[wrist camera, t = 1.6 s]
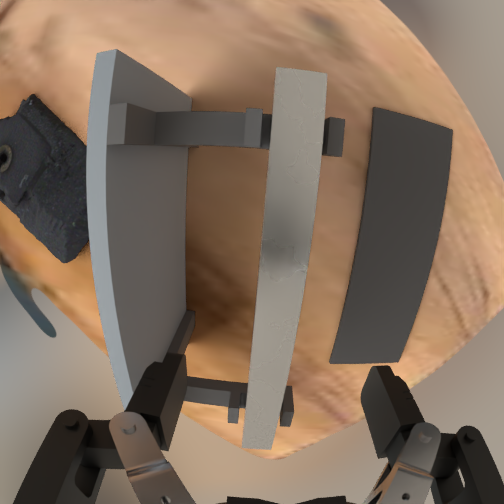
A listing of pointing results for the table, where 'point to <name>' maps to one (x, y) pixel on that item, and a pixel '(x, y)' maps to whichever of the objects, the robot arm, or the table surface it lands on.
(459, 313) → the table surface
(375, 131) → the mat
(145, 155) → the rail stand
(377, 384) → the robot arm
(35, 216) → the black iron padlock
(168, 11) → the table surface
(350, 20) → the table surface
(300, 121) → the rail
